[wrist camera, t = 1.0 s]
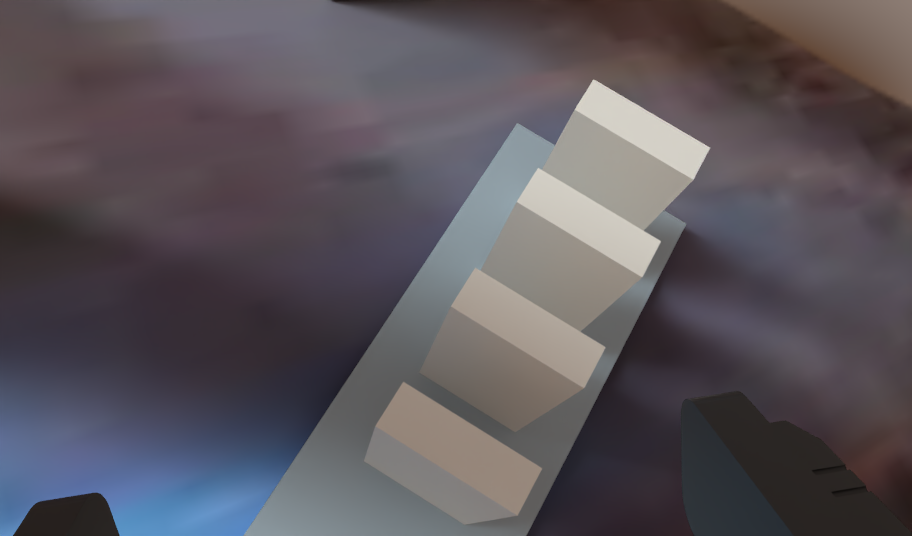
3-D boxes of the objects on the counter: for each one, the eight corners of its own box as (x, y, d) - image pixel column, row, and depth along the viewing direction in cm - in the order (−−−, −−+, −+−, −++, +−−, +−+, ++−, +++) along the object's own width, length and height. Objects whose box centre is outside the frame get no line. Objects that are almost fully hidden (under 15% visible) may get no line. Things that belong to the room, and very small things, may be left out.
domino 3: (418, 372, 34) (450, 306, 24) (437, 343, 34) (475, 267, 25) (515, 432, 33) (584, 388, 24) (531, 401, 34) (605, 347, 25)
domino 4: (363, 461, 32) (375, 426, 23) (383, 428, 33) (403, 381, 23) (464, 524, 32) (517, 515, 23) (482, 490, 32) (542, 468, 23)
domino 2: (469, 292, 35) (516, 201, 26) (485, 265, 36) (538, 167, 27) (561, 348, 35) (642, 277, 26) (576, 320, 36) (661, 241, 26)
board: (204, 598, 30) (200, 600, 29) (512, 133, 40) (517, 123, 39) (416, 737, 30) (419, 743, 29) (677, 231, 39) (686, 223, 38)
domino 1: (514, 219, 37) (574, 109, 28) (529, 194, 38) (593, 79, 28) (602, 272, 37) (693, 179, 27) (616, 247, 37) (709, 147, 28)
